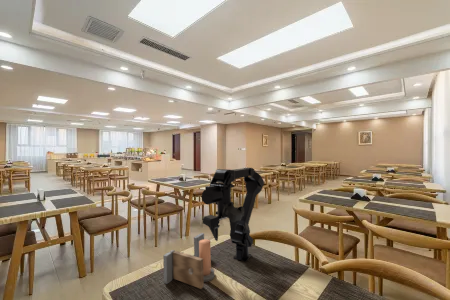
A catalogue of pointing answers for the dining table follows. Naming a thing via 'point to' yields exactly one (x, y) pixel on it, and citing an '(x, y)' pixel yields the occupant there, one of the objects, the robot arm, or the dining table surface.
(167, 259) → the door frame
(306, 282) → the dining table surface
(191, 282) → the door
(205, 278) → the door stop
